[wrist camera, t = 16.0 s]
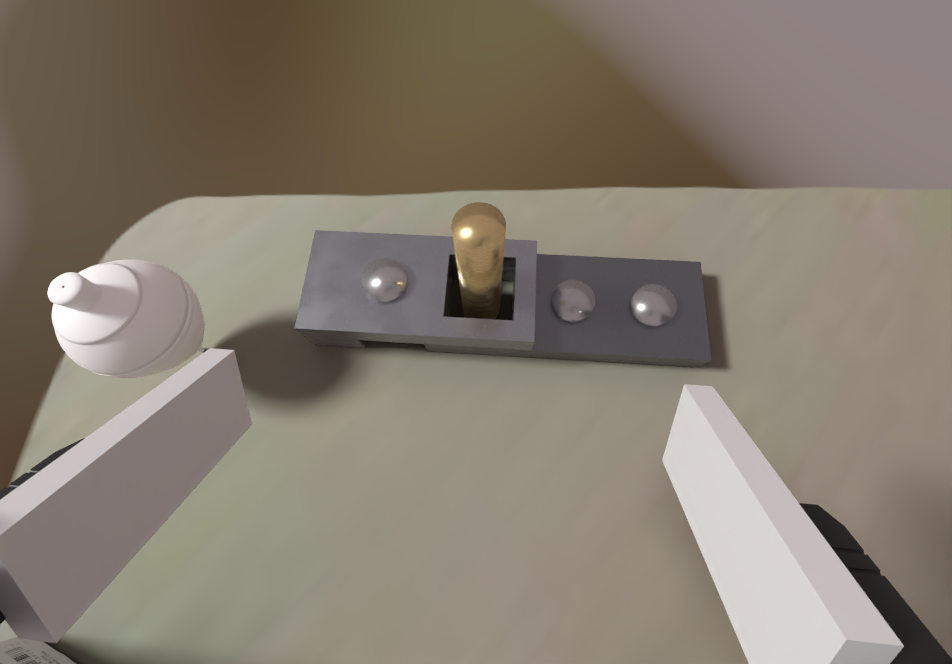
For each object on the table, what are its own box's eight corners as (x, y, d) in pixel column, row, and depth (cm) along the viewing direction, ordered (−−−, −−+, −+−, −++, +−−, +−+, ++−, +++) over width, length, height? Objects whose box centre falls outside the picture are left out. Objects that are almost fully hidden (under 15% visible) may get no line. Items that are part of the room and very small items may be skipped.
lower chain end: (689, 273, 36) (704, 258, 33) (698, 367, 33) (715, 358, 31) (437, 260, 36) (433, 245, 34) (427, 351, 34) (422, 341, 31)
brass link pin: (500, 291, 35) (507, 203, 24) (498, 325, 34) (504, 250, 23) (464, 289, 36) (453, 201, 24) (461, 323, 35) (449, 248, 23)
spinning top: (222, 410, 33) (81, 374, 21) (135, 381, 34) (-43, 331, 22) (267, 320, 35) (162, 244, 24) (185, 295, 36) (46, 210, 25)
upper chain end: (531, 265, 36) (537, 236, 32) (528, 357, 34) (535, 339, 29) (333, 255, 37) (312, 226, 33) (315, 344, 34) (290, 325, 30)
